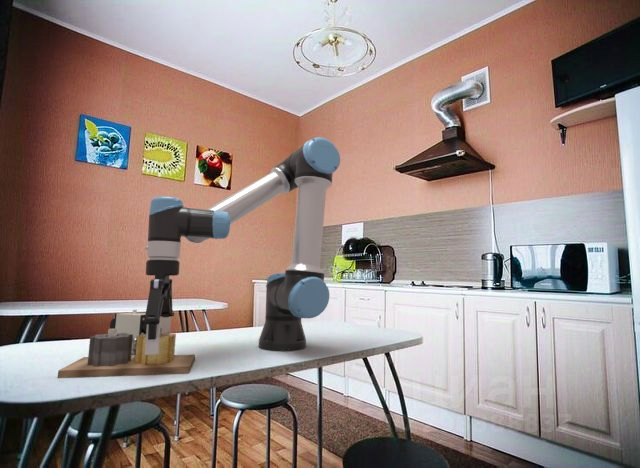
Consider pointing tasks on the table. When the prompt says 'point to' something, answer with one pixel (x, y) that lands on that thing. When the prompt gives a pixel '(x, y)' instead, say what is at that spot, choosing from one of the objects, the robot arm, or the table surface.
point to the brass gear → (164, 350)
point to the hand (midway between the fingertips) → (158, 348)
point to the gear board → (127, 368)
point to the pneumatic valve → (129, 325)
